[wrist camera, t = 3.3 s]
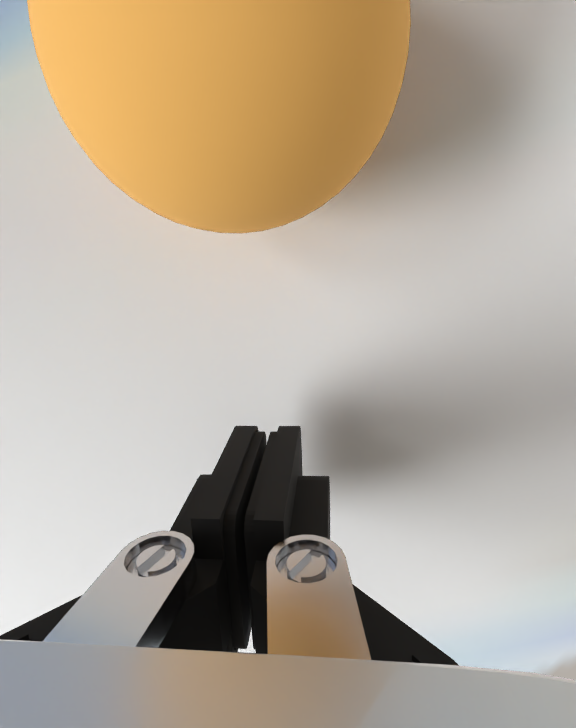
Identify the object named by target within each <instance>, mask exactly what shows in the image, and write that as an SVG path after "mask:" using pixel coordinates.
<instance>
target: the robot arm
mask: <svg viewBox="0 0 576 728" xmlns="http://www.w3.org/2000/svg"><path fill="white" fill-rule="evenodd" d="M251 627H252V638H253V648H254V649H256V653H240V652H238V648H240V649H246V648H247V646H248V641H249V636H250V632H251ZM0 728H576V680H574V679H568V678H562V677H556V676H550V675H544V674H538V673H531V672H520V671H510V670H499V669H488V668H478V667H467V666H459V665H458V664H457V663H456V662H455V661H454V660H453V659H451V658H450V657H449V656H447V655H446V654H445V653H443V652H442V651H441V650H439V649H438V648H437V647H435V646H434V645H433V644H431V643H430V642H429V641H427V640H426V639H425V638H424V637H422V636H421V635H420V634H418V633H417V632H416V631H414V630H413V629H412V628H410V627H409V626H408V625H406V624H405V623H404V622H402V621H401V620H400V619H398V618H397V617H396V616H394V615H393V614H392V613H390V612H389V611H388V610H386V609H385V608H384V607H382V606H381V605H380V604H378V603H377V602H376V601H374V600H373V599H372V598H370V597H369V596H368V595H366V594H365V593H364V592H362V591H361V590H360V589H358V588H357V587H356V586H354V585H353V584H352V581H351V577H350V573H349V569H348V565H347V561H346V557H345V555H344V553H343V551H342V549H341V548H340V547H339V546H338V545H337V544H336V543H335V542H333V541H331V540H330V486H329V476H302V449H301V428H300V426H279V428H278V431H277V432H270V435H269V439H268V442H267V445H266V434H265V432H258V428H257V426H235V428H234V430H233V432H232V434H231V436H230V438H229V440H228V442H227V444H226V446H225V448H224V450H223V452H222V455H221V457H220V459H219V461H218V463H217V465H216V467H215V469H214V471H213V473H212V475H200V476H199V478H198V479H197V481H196V483H195V485H194V487H193V488H192V490H191V492H190V494H189V496H188V498H187V500H186V502H185V503H184V505H183V507H182V509H181V511H180V513H179V515H178V516H177V518H176V520H175V522H174V524H173V526H172V528H171V530H170V531H159V532H153V533H149V534H147V535H144V536H141V537H139V538H137V539H136V540H134V541H132V542H130V543H129V544H128V545H127V546H126V547H125V548H124V549H122V550H121V552H120V553H119V554H118V555H117V556H116V557H115V558H114V560H113V561H112V562H111V563H110V564H109V565H108V566H107V568H106V569H105V570H104V571H103V572H102V573H101V575H100V576H99V577H98V578H97V579H96V580H95V581H94V583H93V584H92V585H91V586H90V587H89V588H88V589H87V591H86V592H85V593H84V594H83V595H81V596H79V597H77V598H75V599H73V600H71V601H69V602H67V603H65V604H63V605H61V606H59V607H57V608H55V609H53V610H51V611H49V612H47V613H45V614H43V615H41V616H39V617H37V618H35V619H33V620H31V621H29V622H27V623H25V624H23V625H21V626H19V627H17V628H15V629H13V630H11V631H9V632H7V633H5V634H3V635H1V636H0Z"/></svg>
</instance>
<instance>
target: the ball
mask: <svg viewBox="0 0 576 728" xmlns="http://www.w3.org/2000/svg"><path fill="white" fill-rule="evenodd" d="M27 3H28V11H29V19H30V27H31V32H32V37H33V41H34V45H35V50H36V54H37V57H38V60H39V63H40V66H41V69H42V72H43V75H44V78H45V81H46V83H47V86H48V89H49V92H50V94H51V96H52V98H53V100H54V102H55V105H56V107H57V109H58V111H59V113H60V115H61V117H62V119H63V120H64V122H65V124H66V125H67V127H68V128H69V130H70V132H71V133H72V135H73V137H74V138H75V139H76V141H77V142H78V143H79V145H80V146H81V147H82V149H83V150H84V151H85V153H86V154H87V155H88V156H89V158H90V159H91V160H92V162H93V163H94V164H95V165H96V167H97V168H98V169H99V170H100V171H101V172H102V173H103V174H104V175H105V176H106V177H107V178H108V179H109V180H110V181H111V182H112V183H113V184H115V185H116V186H117V187H118V188H120V189H121V190H122V191H123V192H125V193H126V194H127V195H128V196H130V197H131V198H132V199H134V200H135V201H137V202H138V203H140V204H141V205H143V206H145V207H146V208H148V209H149V210H151V211H153V212H154V213H156V214H158V215H160V216H163V217H165V218H167V219H169V220H171V221H174V222H176V223H179V224H183V225H186V226H189V227H193V228H196V229H201V230H207V231H213V232H219V233H249V232H257V231H264V230H268V229H271V228H275V227H279V226H283V225H285V224H288V223H290V222H292V221H295V220H297V219H300V218H302V217H304V216H306V215H307V214H309V213H311V212H312V211H314V210H316V209H318V208H319V207H321V206H322V205H324V204H325V203H326V202H328V201H329V200H330V199H331V198H333V197H334V196H335V195H337V194H338V193H339V192H340V191H341V190H342V189H343V188H344V187H345V186H346V185H347V184H348V183H349V182H350V181H351V180H352V179H353V178H354V177H355V176H356V175H357V173H358V172H359V171H360V170H361V168H362V167H363V166H364V164H365V163H366V162H367V161H368V159H369V158H370V156H371V155H372V153H373V151H374V150H375V148H376V146H377V145H378V143H379V141H380V140H381V138H382V136H383V134H384V132H385V130H386V128H387V125H388V123H389V121H390V119H391V117H392V114H393V112H394V108H395V105H396V102H397V99H398V96H399V93H400V90H401V86H402V82H403V78H404V72H405V67H406V62H407V57H408V51H409V38H410V26H411V20H410V0H27Z"/></svg>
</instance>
